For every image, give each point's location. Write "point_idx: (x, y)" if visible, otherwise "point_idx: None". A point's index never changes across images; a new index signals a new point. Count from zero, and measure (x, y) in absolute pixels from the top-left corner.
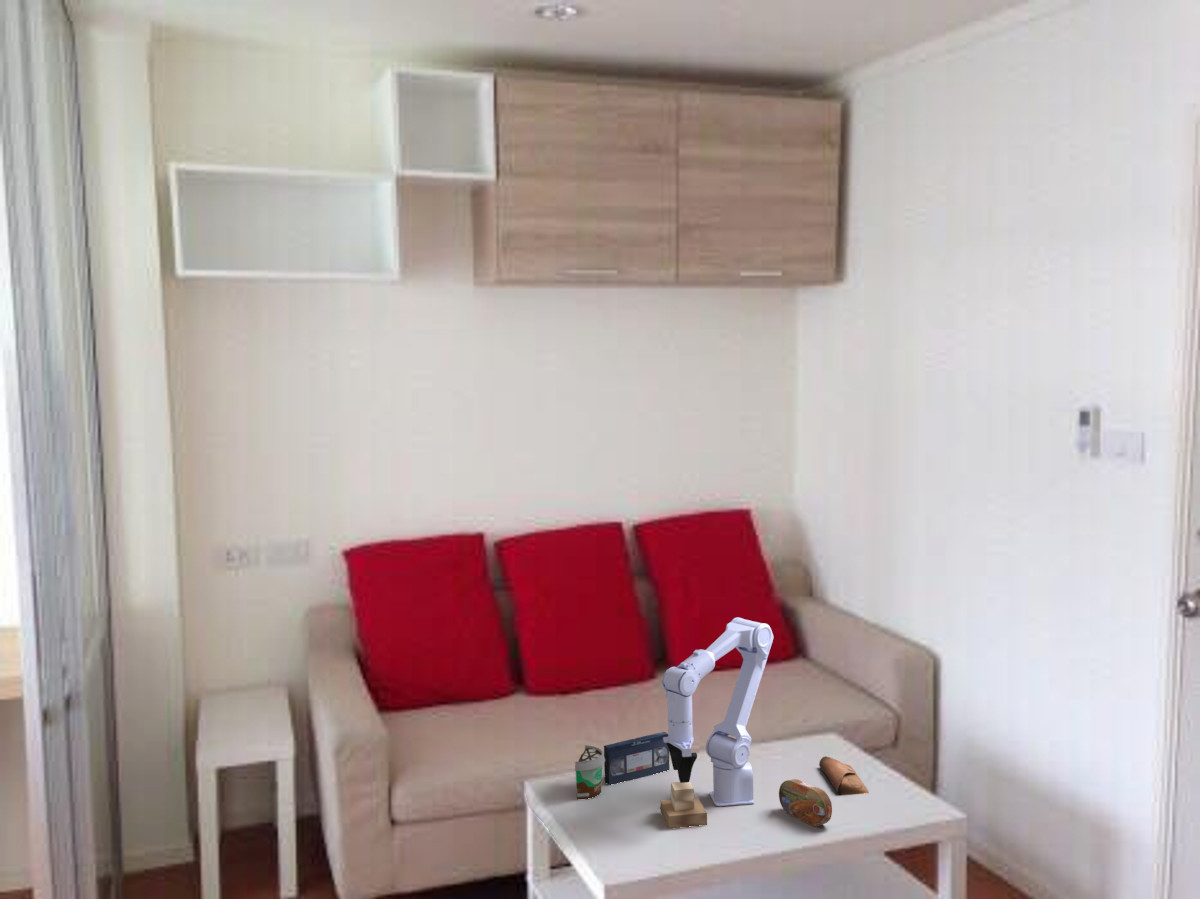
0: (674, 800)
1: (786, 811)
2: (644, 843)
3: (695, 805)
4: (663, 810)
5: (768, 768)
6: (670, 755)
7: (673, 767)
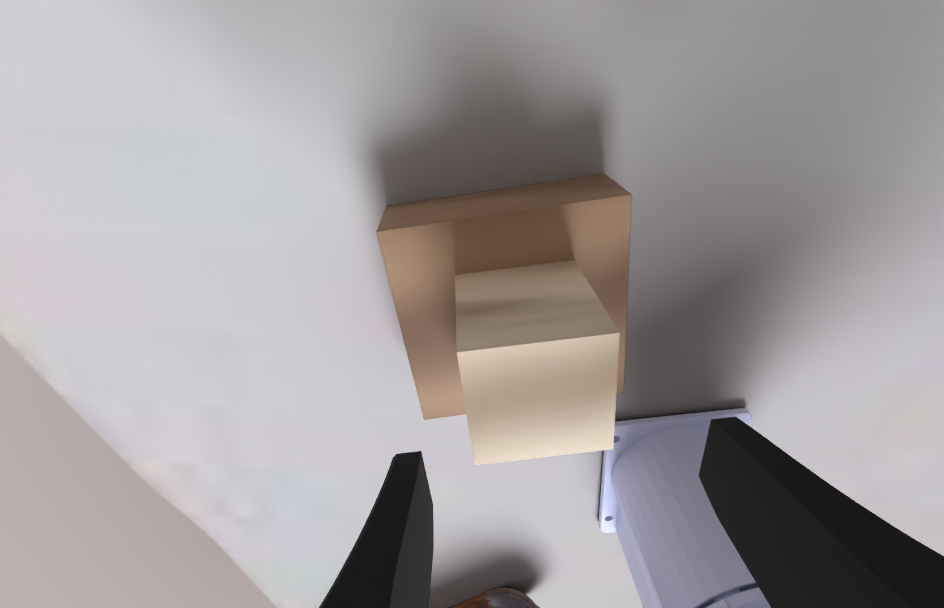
0: (472, 302)
1: (506, 592)
2: (167, 31)
3: None
4: (533, 199)
5: None
6: (873, 524)
7: (728, 435)
